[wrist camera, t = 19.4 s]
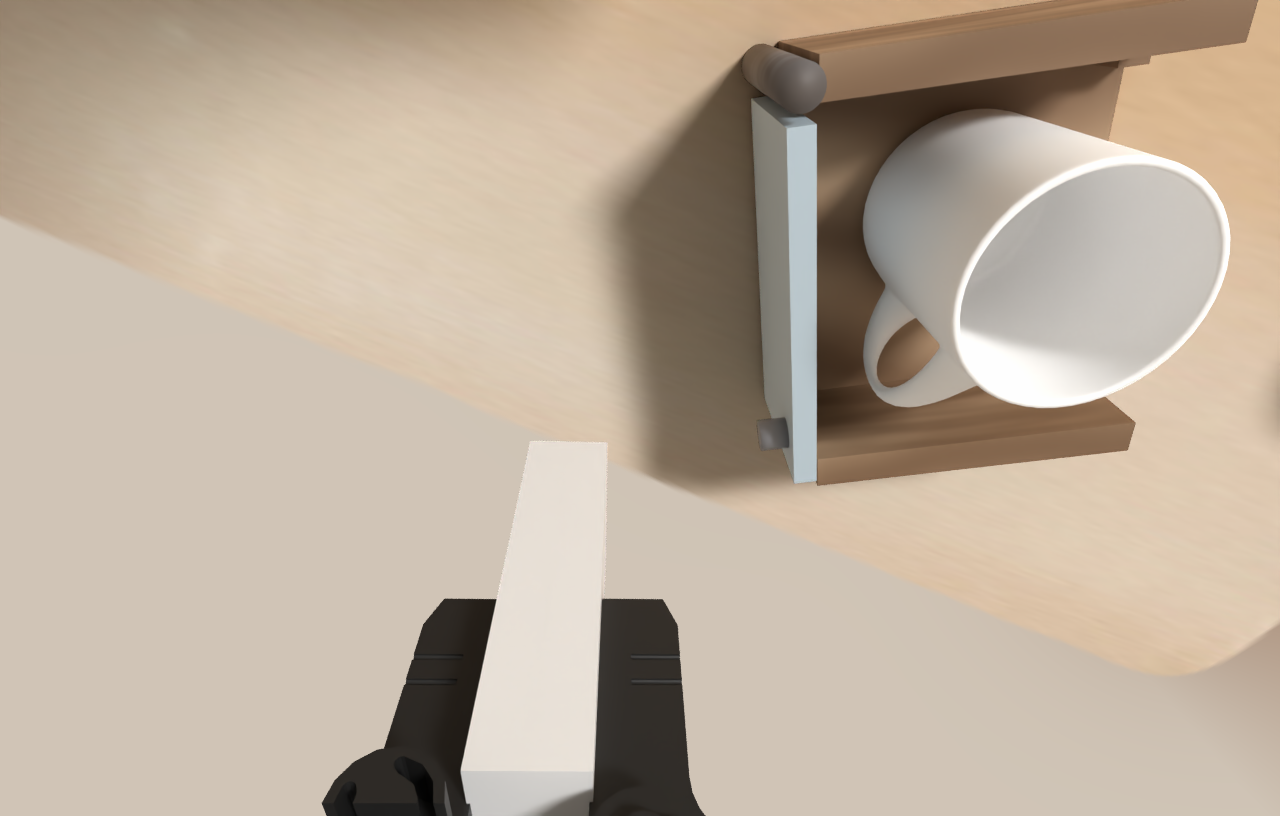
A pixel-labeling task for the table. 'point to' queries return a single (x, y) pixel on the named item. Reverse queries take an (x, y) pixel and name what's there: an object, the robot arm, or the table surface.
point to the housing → (869, 133)
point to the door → (787, 281)
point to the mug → (1037, 259)
